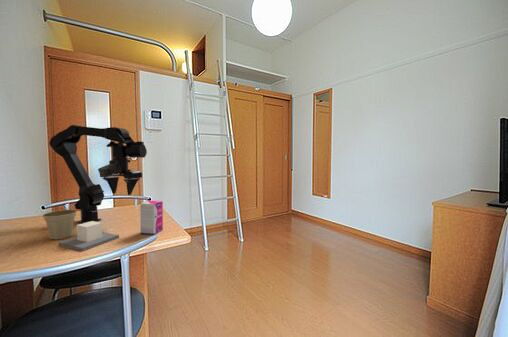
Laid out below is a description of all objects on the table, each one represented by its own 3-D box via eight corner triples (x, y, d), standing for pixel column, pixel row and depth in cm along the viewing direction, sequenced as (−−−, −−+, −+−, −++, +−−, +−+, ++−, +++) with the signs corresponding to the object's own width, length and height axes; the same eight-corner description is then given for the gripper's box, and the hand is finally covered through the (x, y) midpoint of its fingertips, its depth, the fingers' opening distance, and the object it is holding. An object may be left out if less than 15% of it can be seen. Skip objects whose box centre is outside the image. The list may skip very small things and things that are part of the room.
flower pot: (49, 243, 77) (48, 218, 76) (39, 238, 82) (37, 214, 81) (82, 235, 85) (81, 211, 84) (71, 230, 90) (70, 208, 89)
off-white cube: (77, 239, 77) (76, 225, 77) (92, 235, 82) (92, 221, 82) (87, 242, 75) (86, 226, 75) (102, 236, 80) (101, 222, 80)
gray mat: (58, 245, 76) (58, 242, 75) (96, 233, 87) (96, 230, 87) (82, 251, 71) (82, 247, 71) (119, 237, 82) (119, 235, 82)
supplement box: (154, 235, 85) (153, 204, 84) (140, 234, 86) (138, 203, 85) (163, 230, 90) (162, 200, 89) (150, 229, 91) (149, 200, 91)
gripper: (85, 158, 95) (87, 196, 96) (118, 158, 88) (119, 199, 89) (111, 157, 106) (113, 191, 107) (142, 157, 98) (143, 194, 99)
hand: (121, 194), depth 100 cm, fingers open, 9 cm apart
